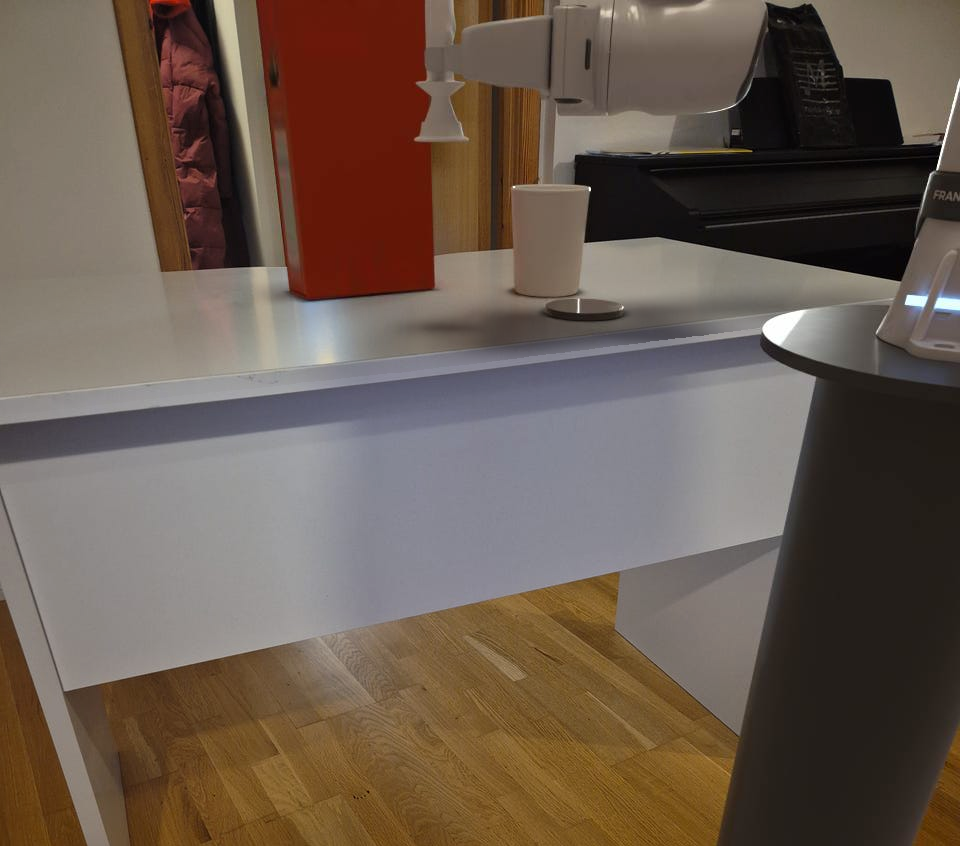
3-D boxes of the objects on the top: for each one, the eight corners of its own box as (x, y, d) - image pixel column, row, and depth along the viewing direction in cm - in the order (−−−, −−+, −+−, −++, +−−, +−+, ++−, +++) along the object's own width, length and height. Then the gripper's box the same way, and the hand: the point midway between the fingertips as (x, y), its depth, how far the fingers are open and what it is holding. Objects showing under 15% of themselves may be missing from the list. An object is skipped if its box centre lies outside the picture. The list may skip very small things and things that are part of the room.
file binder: (288, 291, 109) (253, -21, 92) (409, 280, 116) (397, -11, 99) (308, 301, 103) (275, -30, 86) (435, 289, 110) (427, -19, 93)
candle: (458, 141, 84) (456, -9, 78) (476, 141, 80) (476, -17, 74) (407, 141, 83) (401, -12, 76) (423, 142, 78) (418, -20, 72)
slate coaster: (637, 312, 97) (638, 305, 97) (592, 324, 92) (592, 316, 91) (576, 302, 102) (576, 295, 102) (529, 313, 97) (529, 305, 96)
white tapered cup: (513, 283, 114) (515, 183, 107) (586, 286, 112) (592, 184, 106) (503, 297, 105) (505, 189, 99) (581, 299, 104) (588, 190, 98)
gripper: (587, 27, 83) (451, 29, 85) (572, 2, 66) (403, 6, 68) (583, 102, 86) (452, 103, 88) (568, 97, 69) (406, 98, 71)
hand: (430, 61), depth 78 cm, fingers closed on candle, 2 cm apart
